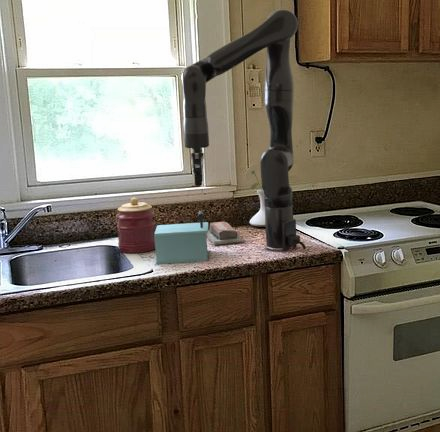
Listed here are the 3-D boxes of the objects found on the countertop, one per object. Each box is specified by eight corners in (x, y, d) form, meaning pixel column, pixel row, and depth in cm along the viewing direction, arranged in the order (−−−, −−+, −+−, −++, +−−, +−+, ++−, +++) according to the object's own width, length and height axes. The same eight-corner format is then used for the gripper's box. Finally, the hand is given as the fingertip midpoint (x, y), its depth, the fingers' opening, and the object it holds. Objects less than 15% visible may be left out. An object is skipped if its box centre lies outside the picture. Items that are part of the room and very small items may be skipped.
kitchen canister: (146, 242, 226) (142, 193, 223) (164, 248, 217) (160, 196, 213) (112, 249, 218) (107, 198, 215) (130, 255, 208) (125, 202, 205)
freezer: (207, 250, 211) (205, 224, 209) (207, 260, 199) (205, 233, 197) (159, 253, 209) (157, 227, 207) (156, 264, 197) (154, 236, 195)
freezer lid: (208, 224, 209) (207, 208, 208) (208, 232, 197) (207, 215, 196) (157, 227, 207) (156, 211, 206) (154, 236, 195) (152, 219, 194)
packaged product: (204, 222, 233) (230, 219, 236) (204, 235, 234) (231, 232, 237) (213, 232, 216) (242, 229, 219) (214, 246, 217) (242, 242, 220)
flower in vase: (267, 221, 253) (264, 158, 249) (285, 225, 245) (282, 160, 240) (240, 226, 246) (236, 162, 241) (257, 231, 237) (253, 164, 232)
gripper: (208, 133, 191) (210, 186, 194) (208, 130, 205) (211, 180, 208) (182, 133, 190) (185, 187, 193) (184, 130, 204) (187, 181, 207)
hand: (198, 183), depth 200 cm, fingers open, 8 cm apart
